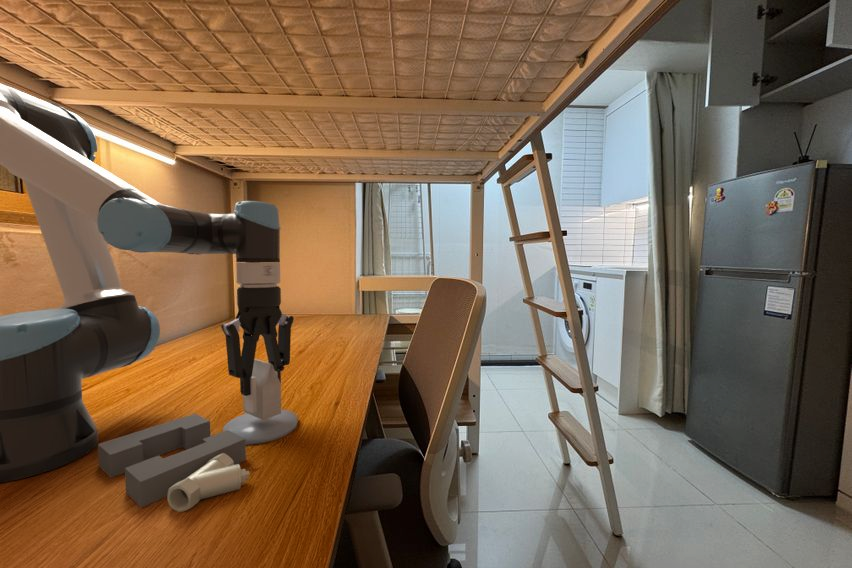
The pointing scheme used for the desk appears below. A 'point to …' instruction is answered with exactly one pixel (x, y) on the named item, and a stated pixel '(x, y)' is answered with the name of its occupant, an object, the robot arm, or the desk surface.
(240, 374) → the robot arm
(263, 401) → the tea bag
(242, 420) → the blue-grey round plate
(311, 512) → the desk surface
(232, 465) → the pipe fitting
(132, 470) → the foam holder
